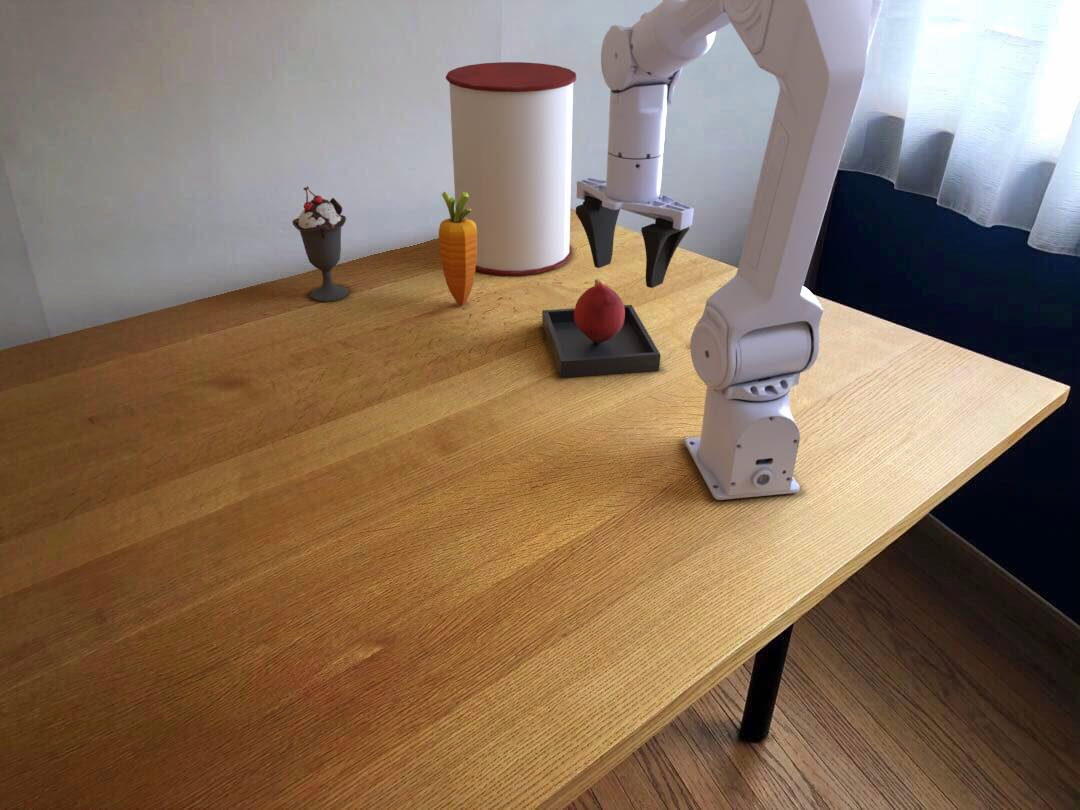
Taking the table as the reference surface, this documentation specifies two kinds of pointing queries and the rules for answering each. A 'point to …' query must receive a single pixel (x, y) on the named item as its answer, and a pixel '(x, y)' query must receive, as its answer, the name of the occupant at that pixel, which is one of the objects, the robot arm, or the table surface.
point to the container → (514, 162)
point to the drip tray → (599, 346)
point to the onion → (599, 313)
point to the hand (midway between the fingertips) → (627, 274)
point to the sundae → (322, 242)
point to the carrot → (458, 248)
